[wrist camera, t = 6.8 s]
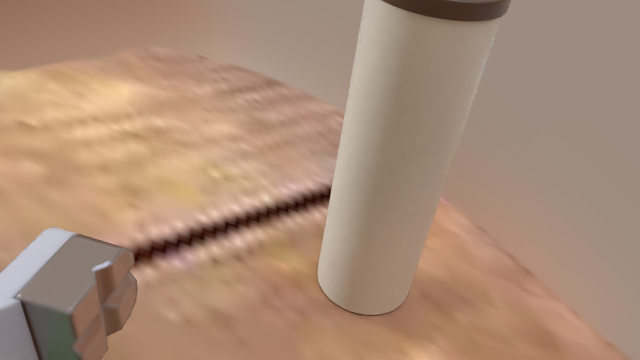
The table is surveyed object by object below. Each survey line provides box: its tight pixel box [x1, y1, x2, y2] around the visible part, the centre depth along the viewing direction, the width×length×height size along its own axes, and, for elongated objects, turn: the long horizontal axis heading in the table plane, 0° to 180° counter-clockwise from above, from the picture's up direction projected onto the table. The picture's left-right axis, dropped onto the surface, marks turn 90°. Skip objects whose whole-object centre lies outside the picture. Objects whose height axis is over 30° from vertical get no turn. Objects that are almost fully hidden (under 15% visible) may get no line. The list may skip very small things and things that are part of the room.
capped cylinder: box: [317, 0, 511, 315], centre depth 21 cm, size 5×5×14 cm
